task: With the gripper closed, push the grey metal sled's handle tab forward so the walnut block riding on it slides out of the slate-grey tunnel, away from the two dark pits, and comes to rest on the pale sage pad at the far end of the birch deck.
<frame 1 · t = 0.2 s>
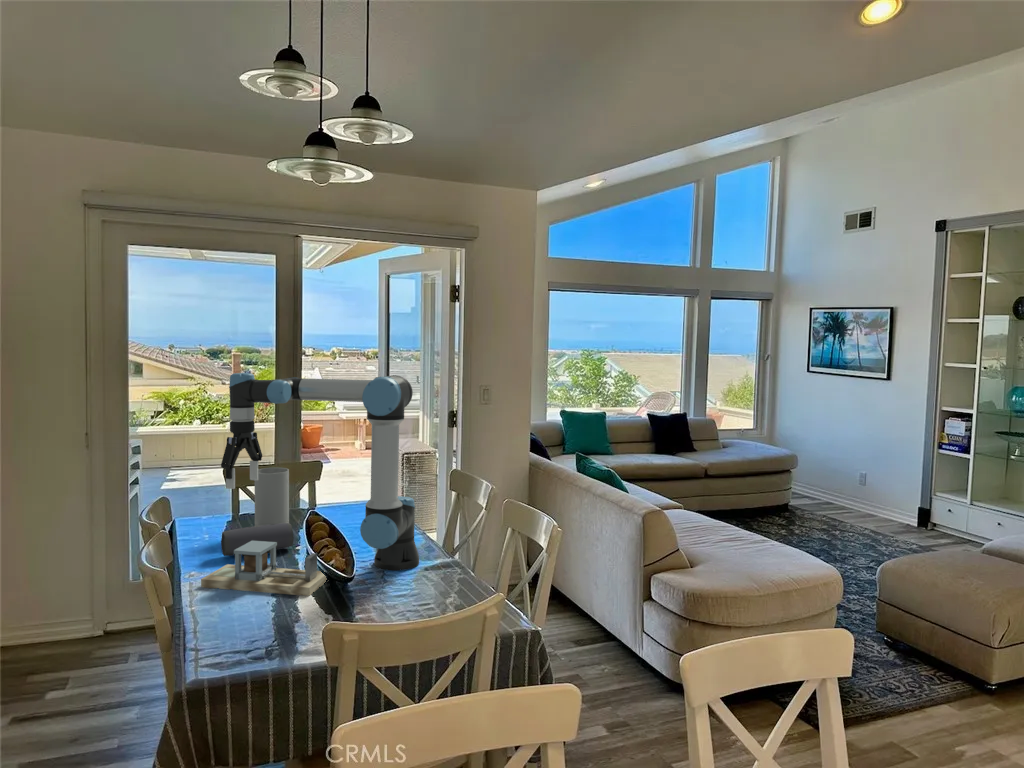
hand: (242, 484, 222), 28 cm above the table, fingers open, 13 cm apart
tunnel: (255, 560, 209), on the deck, point 7 cm above the table
sled: (277, 564, 208), point 6 cm above the table, slide at 0.0 cm, touching block
bluetooth speaker: (257, 554, 237), on the table
block: (255, 571, 209), point 3 cm above the table, touching sled
deck: (266, 583, 209), on the table
cylinder vase: (272, 534, 261), on the table
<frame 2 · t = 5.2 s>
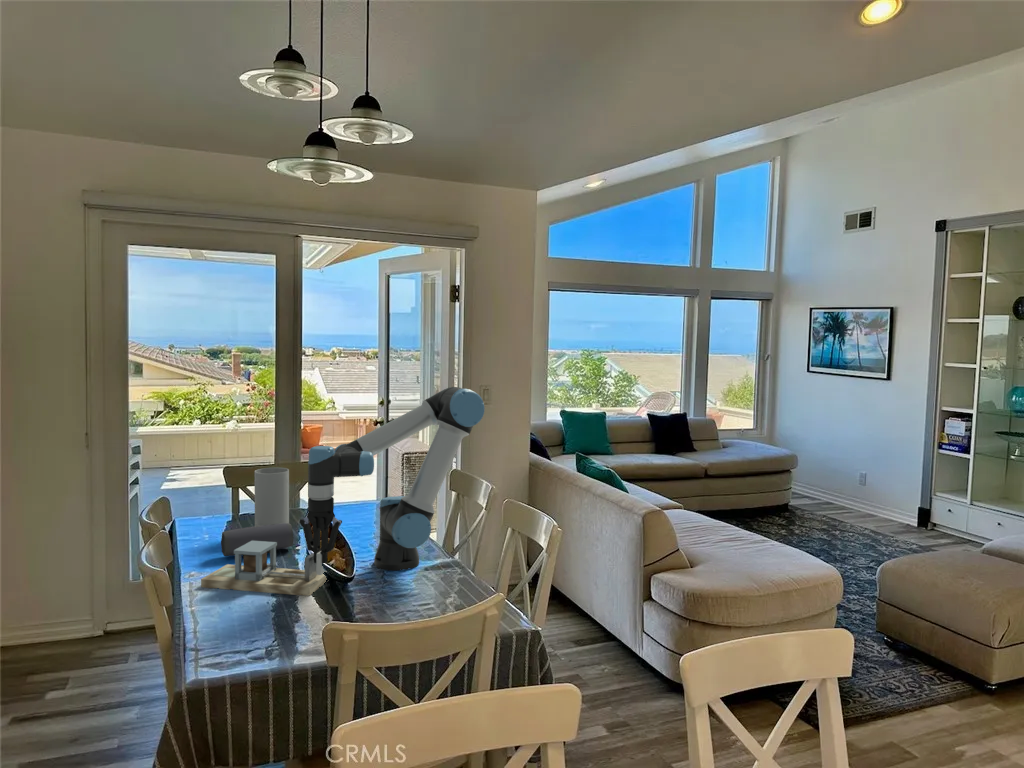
hand: (320, 573, 206), 5 cm above the table, fingers closed
sled: (277, 564, 208), point 6 cm above the table, slide at 0.2 cm, touching block, gripper
everything else where it was.
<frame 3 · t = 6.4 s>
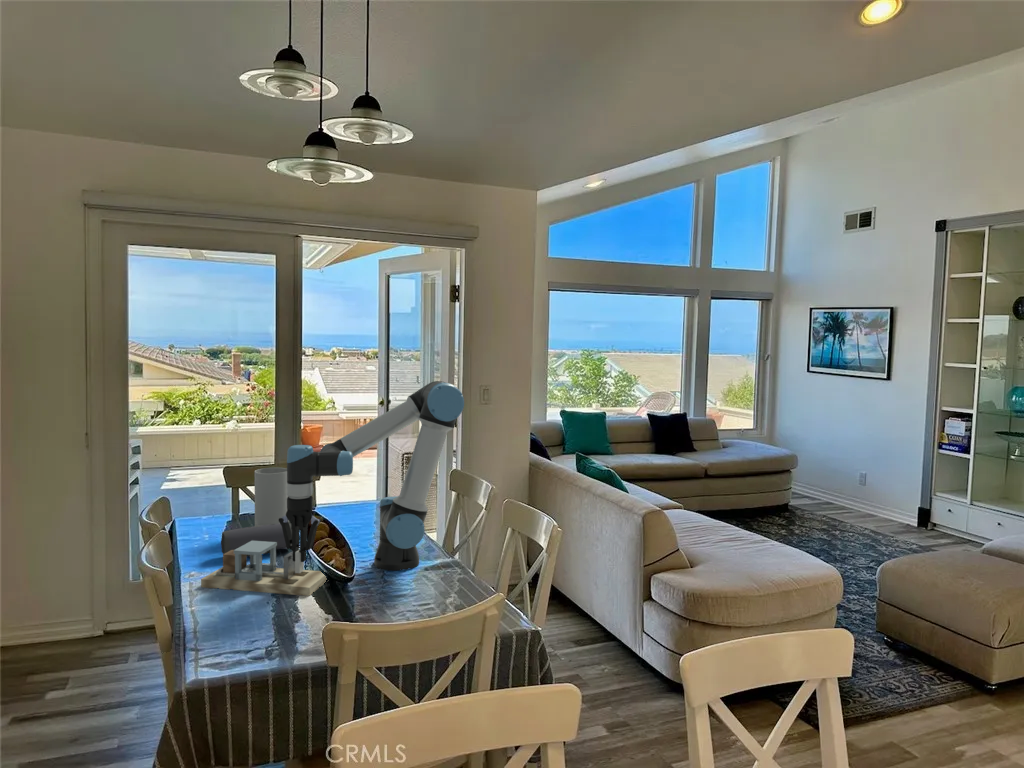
hand: (299, 571, 207), 5 cm above the table, fingers closed
sled: (256, 563, 209), point 6 cm above the table, slide at 7.0 cm, touching block, gripper
block: (235, 569, 210), point 3 cm above the table, touching sled
everything else where it was.
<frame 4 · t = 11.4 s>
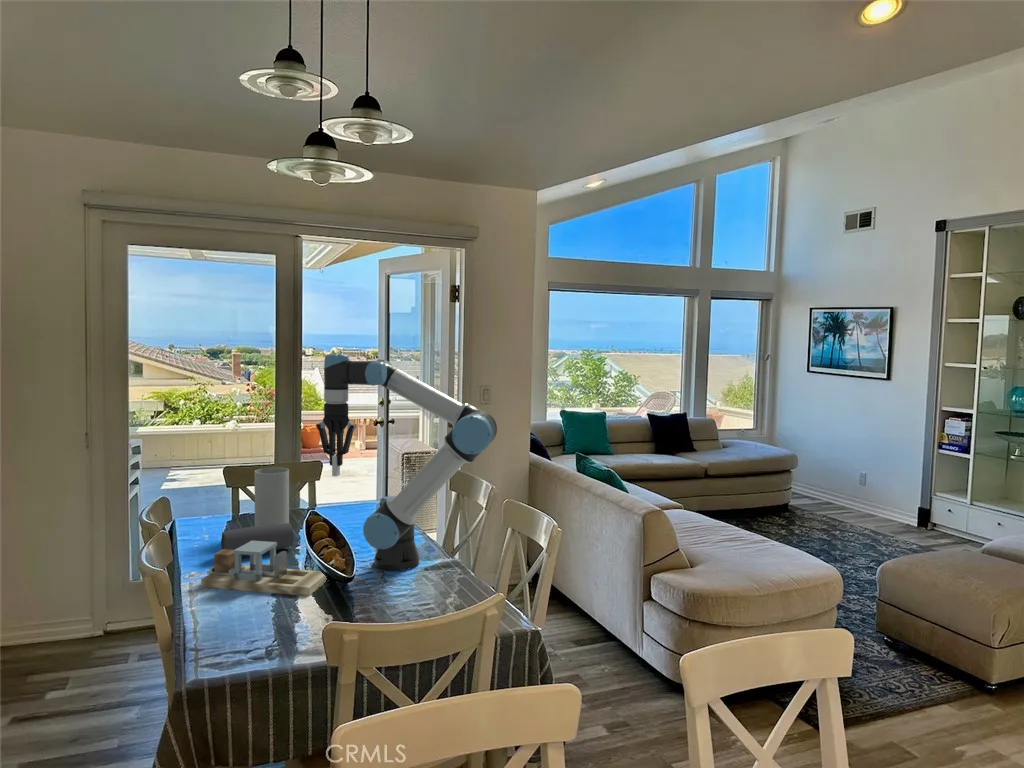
hand: (336, 475, 216), 32 cm above the table, fingers closed
sled: (247, 562, 210), point 6 cm above the table, slide at 10.0 cm, touching block
block: (226, 569, 211), point 3 cm above the table, touching sled
everything else where it was.
at the end: block inside the target area (0.5 cm from its centre), point 3.5 cm above the table; sled slide at 10.0 cm; block tilted 0° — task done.
